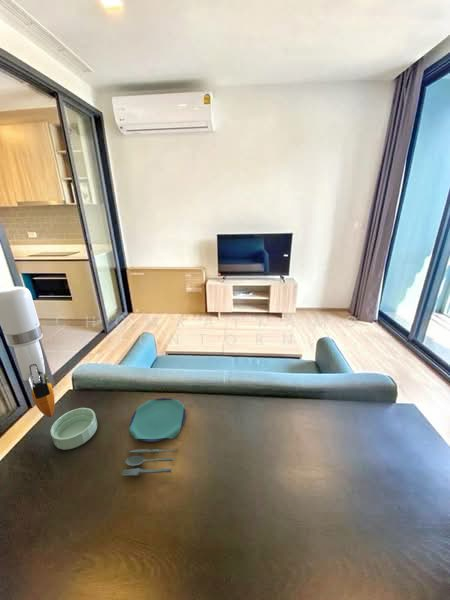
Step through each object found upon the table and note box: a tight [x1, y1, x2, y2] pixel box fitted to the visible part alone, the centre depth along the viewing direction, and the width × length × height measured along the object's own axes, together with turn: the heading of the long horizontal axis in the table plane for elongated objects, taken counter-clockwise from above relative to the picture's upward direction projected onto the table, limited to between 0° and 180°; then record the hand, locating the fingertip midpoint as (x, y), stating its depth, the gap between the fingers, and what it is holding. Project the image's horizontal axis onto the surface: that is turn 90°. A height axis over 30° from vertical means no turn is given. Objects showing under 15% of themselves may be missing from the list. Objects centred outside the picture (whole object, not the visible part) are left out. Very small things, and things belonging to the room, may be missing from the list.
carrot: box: [31, 373, 56, 418], centre depth 72 cm, size 5×5×15 cm
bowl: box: [49, 407, 98, 451], centre depth 86 cm, size 13×13×5 cm
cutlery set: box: [121, 397, 187, 477], centre depth 86 cm, size 20×30×2 cm, turn 1°
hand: (42, 390), depth 71 cm, fingers closed on carrot, 4 cm apart
